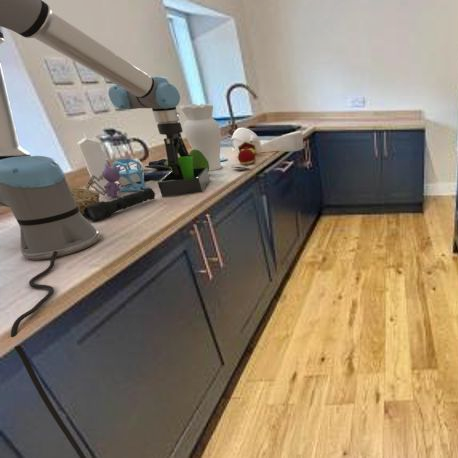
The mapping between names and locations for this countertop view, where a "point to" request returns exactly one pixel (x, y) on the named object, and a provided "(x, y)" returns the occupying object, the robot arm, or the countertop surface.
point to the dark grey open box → (184, 183)
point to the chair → (130, 172)
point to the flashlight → (117, 204)
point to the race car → (158, 164)
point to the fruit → (198, 159)
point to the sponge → (85, 198)
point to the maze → (96, 184)
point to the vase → (203, 132)
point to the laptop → (240, 167)
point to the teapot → (244, 139)
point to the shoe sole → (284, 143)
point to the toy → (223, 159)
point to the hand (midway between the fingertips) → (184, 178)
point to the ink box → (133, 177)
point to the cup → (186, 166)
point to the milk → (93, 160)
